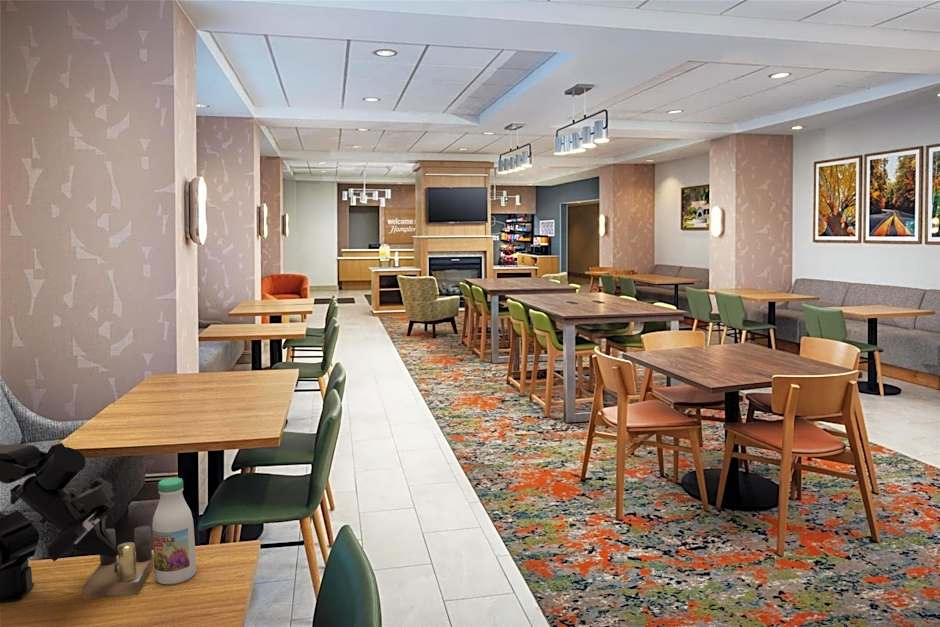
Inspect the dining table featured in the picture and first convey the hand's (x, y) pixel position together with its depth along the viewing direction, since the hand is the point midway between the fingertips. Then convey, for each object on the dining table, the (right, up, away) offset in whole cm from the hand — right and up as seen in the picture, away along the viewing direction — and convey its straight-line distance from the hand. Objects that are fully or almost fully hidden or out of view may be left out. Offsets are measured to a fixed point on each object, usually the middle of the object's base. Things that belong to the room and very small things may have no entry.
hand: (117, 555), depth 134 cm
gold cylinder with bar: (0, -5, +3) cm, 6 cm away
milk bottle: (+8, -7, +8) cm, 14 cm away
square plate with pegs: (-2, -8, +6) cm, 10 cm away
